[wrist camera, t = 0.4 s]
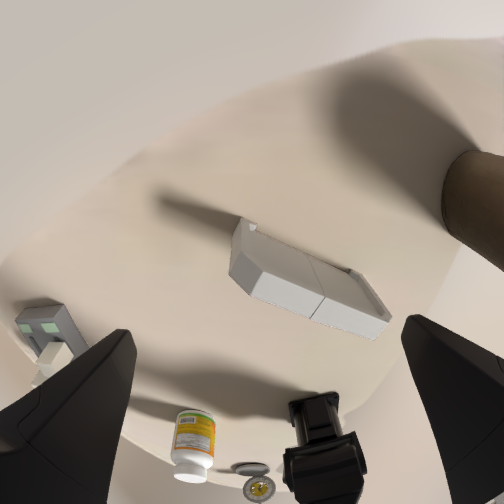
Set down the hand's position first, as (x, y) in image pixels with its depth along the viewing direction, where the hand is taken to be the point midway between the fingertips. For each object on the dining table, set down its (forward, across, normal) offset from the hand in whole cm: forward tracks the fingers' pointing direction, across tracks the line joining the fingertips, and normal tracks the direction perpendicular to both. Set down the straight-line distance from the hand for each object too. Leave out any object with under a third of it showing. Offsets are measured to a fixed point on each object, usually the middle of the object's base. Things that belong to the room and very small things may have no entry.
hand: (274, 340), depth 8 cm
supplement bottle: (+14, +9, +28) cm, 33 cm away
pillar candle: (+14, -22, -2) cm, 27 cm away
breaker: (+11, +22, +13) cm, 28 cm away
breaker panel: (+14, +23, +18) cm, 33 cm away
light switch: (+14, -4, +4) cm, 15 cm away
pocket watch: (+15, +1, +50) cm, 52 cm away
